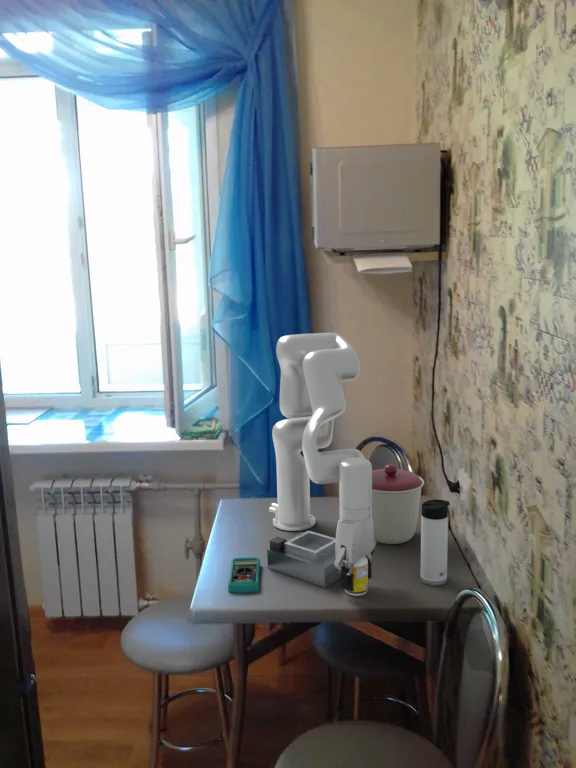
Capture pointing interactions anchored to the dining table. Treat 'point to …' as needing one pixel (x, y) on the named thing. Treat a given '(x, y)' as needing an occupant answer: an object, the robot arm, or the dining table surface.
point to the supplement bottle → (359, 577)
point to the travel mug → (434, 542)
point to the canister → (395, 504)
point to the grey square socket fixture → (305, 557)
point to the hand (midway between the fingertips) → (356, 582)
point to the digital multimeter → (244, 575)
